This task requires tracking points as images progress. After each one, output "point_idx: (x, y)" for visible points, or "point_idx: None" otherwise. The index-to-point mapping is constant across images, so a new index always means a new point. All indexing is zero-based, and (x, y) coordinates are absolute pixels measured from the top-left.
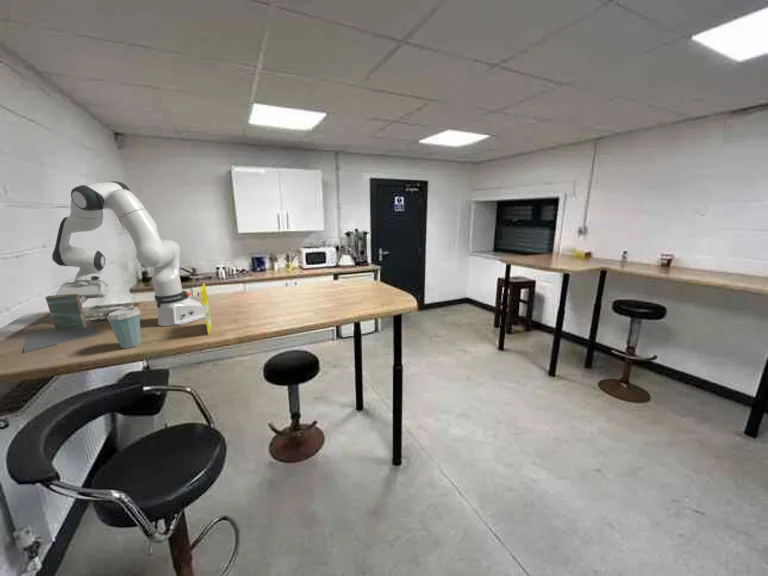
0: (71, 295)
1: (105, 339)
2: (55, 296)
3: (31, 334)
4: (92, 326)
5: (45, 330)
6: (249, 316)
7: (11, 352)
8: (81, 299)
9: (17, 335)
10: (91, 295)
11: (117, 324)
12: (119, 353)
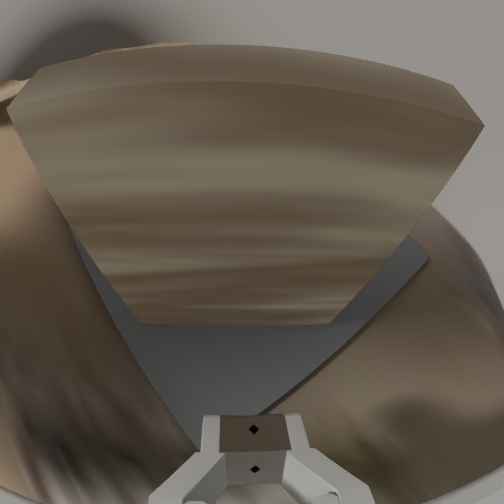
0: (86, 60)
1: (22, 148)
2: (327, 54)
3: (403, 250)
4: (104, 301)
5: (385, 299)
6: None
7: None
8: (194, 480)
9: (467, 272)
10: (23, 499)
11: None
12: (3, 92)
